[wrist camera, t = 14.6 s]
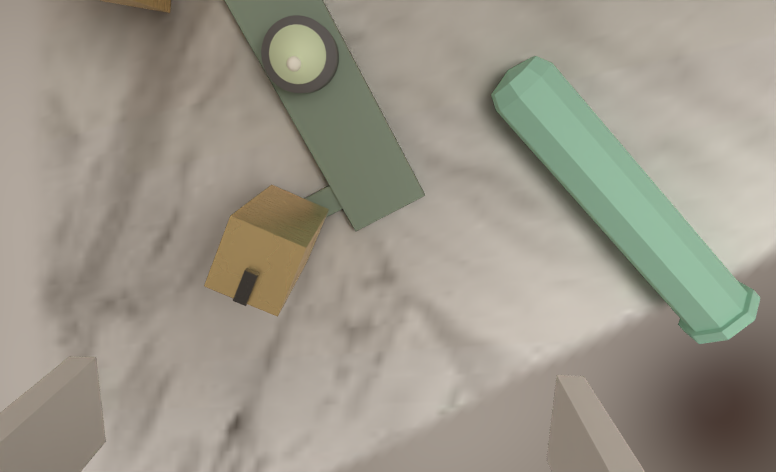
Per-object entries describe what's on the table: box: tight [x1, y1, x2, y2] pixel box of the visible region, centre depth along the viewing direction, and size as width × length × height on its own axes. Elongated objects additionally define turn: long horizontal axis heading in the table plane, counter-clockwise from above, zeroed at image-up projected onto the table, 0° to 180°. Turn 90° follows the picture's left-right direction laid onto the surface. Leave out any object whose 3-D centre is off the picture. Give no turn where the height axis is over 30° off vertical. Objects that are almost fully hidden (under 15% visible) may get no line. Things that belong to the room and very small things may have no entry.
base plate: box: [225, 0, 425, 231], centre depth 39 cm, size 12×26×4 cm, turn 28°
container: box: [491, 56, 760, 344], centre depth 41 cm, size 6×6×25 cm
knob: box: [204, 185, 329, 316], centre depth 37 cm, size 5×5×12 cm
